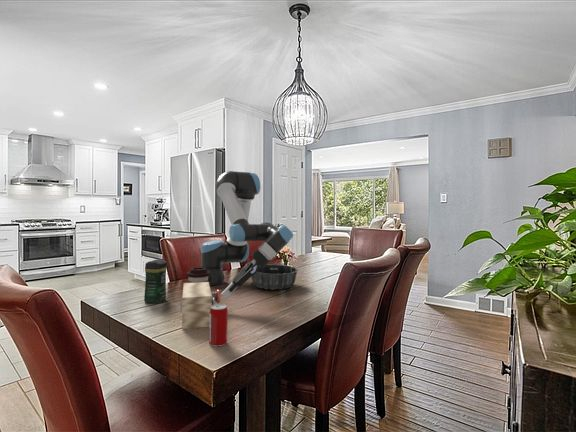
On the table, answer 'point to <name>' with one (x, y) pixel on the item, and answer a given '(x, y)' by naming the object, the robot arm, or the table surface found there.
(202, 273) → the coffee cup
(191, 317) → the block
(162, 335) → the table surface
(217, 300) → the red plug
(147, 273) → the coffee jar
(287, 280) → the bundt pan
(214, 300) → the steel plug
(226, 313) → the soda can
